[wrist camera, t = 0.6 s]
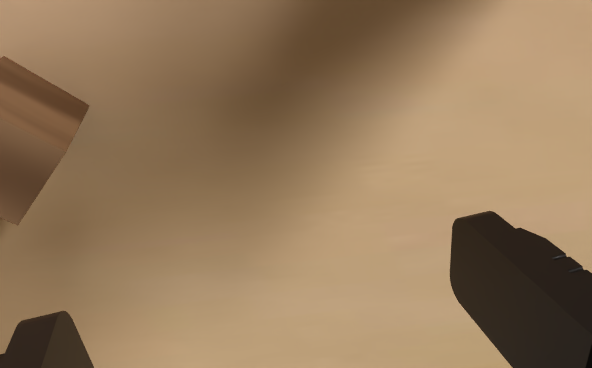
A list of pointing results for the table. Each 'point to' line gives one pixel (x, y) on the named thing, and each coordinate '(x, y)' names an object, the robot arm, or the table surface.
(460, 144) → the table surface
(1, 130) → the walnut block
